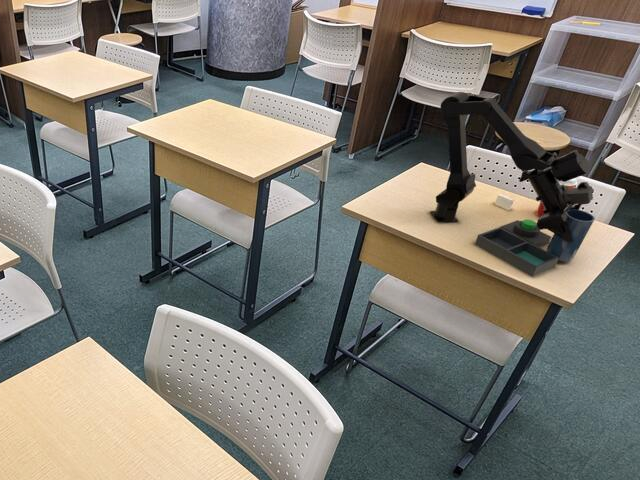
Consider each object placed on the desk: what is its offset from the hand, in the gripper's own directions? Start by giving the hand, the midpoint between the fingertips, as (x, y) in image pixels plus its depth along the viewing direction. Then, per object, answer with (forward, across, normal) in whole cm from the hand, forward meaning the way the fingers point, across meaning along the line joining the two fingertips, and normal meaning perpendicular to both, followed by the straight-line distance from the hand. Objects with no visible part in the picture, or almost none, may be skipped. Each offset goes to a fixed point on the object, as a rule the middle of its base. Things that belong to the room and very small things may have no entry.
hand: (575, 237), depth 151 cm
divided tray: (-2, -7, +13) cm, 15 cm away
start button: (-6, +5, +12) cm, 14 cm away
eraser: (-11, +20, +23) cm, 32 cm away
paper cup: (-2, +24, +14) cm, 28 cm away
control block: (-3, +5, +14) cm, 16 cm away
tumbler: (+4, 0, +6) cm, 7 cm away
